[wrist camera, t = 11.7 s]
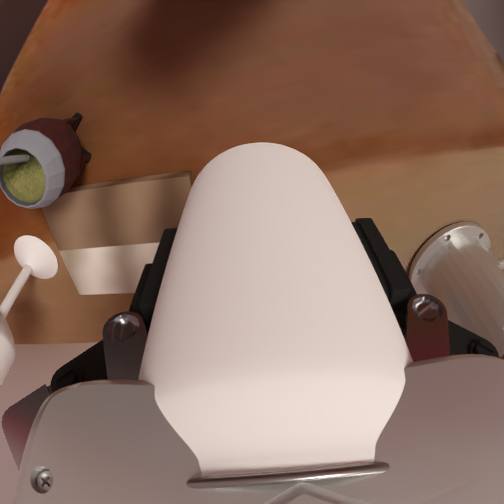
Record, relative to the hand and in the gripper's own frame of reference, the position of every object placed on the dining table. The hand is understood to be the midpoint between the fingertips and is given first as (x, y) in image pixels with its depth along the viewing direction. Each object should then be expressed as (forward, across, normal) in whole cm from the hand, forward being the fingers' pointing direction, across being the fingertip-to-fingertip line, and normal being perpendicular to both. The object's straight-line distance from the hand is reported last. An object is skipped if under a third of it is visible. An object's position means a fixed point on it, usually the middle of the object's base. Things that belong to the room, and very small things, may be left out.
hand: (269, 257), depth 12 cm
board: (+17, +14, +10) cm, 24 cm away
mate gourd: (+17, +18, -2) cm, 25 cm away
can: (+3, 0, 0) cm, 3 cm away
